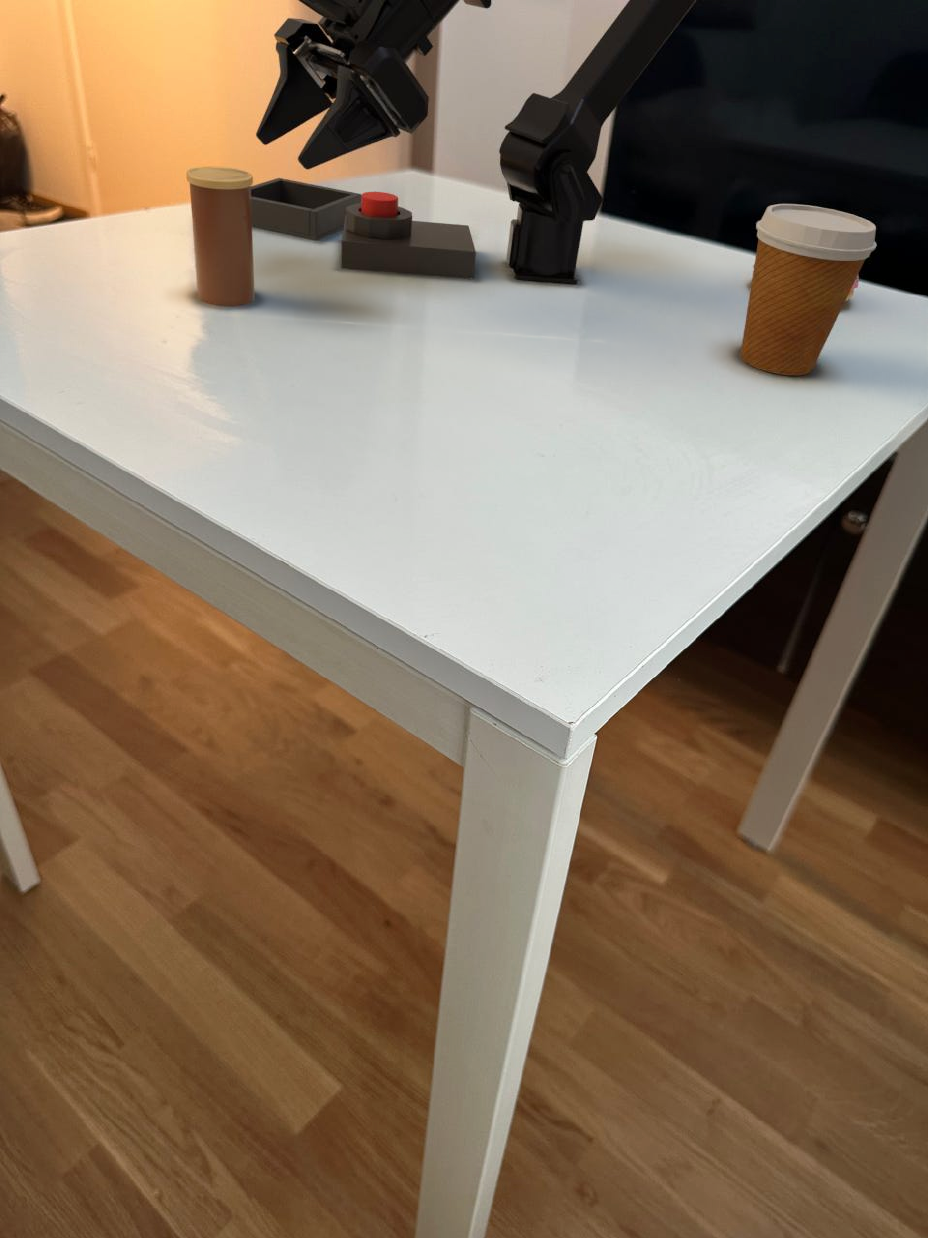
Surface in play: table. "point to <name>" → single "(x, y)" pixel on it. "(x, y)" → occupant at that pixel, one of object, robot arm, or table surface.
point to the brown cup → (222, 234)
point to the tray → (300, 208)
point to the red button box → (406, 245)
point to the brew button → (379, 204)
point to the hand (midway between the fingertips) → (280, 151)
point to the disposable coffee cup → (801, 283)
